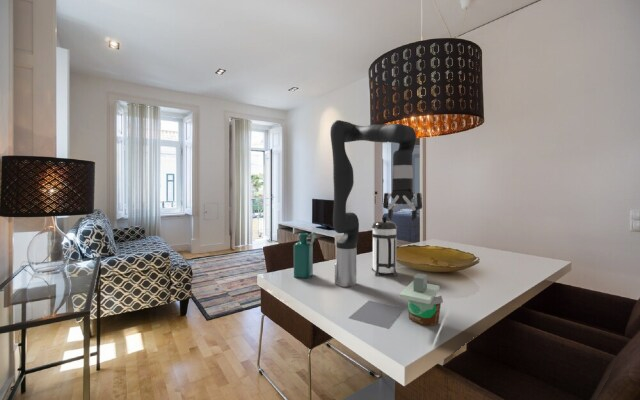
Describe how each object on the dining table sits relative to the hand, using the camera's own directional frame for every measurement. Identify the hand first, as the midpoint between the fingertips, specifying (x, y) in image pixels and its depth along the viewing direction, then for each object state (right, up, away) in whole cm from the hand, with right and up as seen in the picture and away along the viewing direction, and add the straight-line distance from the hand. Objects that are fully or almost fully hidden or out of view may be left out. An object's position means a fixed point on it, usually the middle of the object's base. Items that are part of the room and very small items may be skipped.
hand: (402, 220), depth 107 cm
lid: (+1, -23, -16) cm, 28 cm away
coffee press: (+3, -31, +39) cm, 50 cm away
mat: (-11, -32, -9) cm, 36 cm away
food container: (+1, -33, -16) cm, 37 cm away
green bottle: (-40, -31, +36) cm, 62 cm away
